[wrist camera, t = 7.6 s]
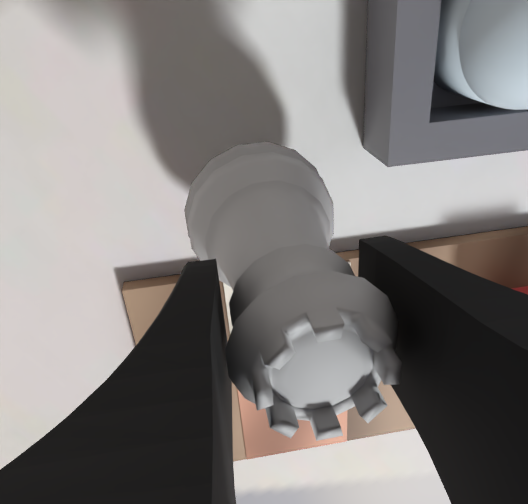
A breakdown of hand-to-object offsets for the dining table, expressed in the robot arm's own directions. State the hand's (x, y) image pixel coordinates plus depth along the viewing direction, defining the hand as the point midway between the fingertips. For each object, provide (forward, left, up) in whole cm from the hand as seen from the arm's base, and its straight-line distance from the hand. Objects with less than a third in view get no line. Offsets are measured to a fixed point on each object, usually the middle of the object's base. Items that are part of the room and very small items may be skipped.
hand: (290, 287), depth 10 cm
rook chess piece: (0, 0, -5) cm, 5 cm away
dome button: (-7, -5, -7) cm, 11 cm away
